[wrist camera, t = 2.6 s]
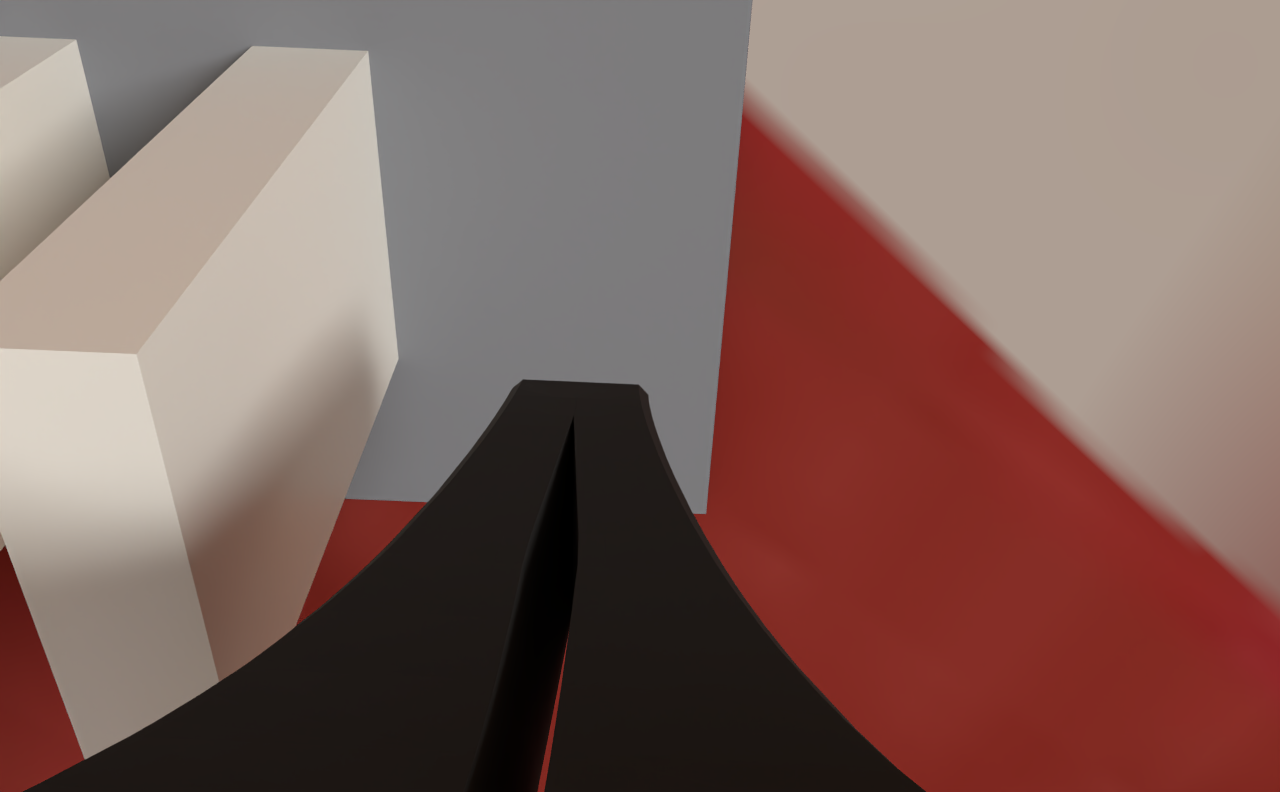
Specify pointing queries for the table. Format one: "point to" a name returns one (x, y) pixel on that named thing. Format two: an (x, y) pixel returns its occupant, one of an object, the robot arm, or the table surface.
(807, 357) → the table surface
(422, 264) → the mat
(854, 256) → the table surface
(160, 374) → the domino
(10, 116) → the domino
